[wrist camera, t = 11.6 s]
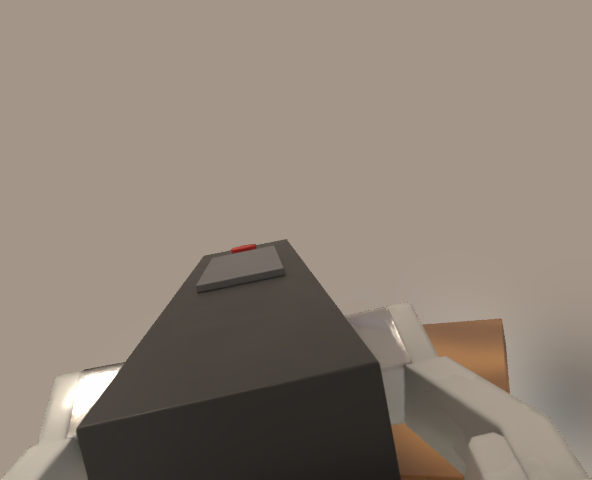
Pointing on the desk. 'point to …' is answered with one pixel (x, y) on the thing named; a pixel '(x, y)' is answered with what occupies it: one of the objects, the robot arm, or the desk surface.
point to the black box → (245, 384)
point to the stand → (472, 355)
